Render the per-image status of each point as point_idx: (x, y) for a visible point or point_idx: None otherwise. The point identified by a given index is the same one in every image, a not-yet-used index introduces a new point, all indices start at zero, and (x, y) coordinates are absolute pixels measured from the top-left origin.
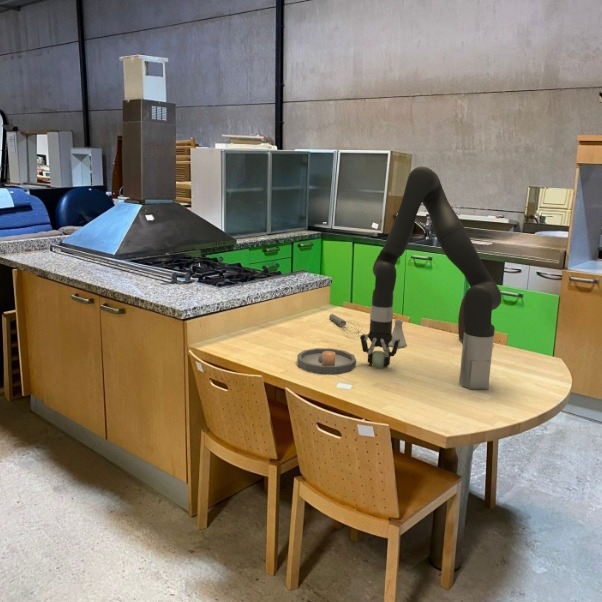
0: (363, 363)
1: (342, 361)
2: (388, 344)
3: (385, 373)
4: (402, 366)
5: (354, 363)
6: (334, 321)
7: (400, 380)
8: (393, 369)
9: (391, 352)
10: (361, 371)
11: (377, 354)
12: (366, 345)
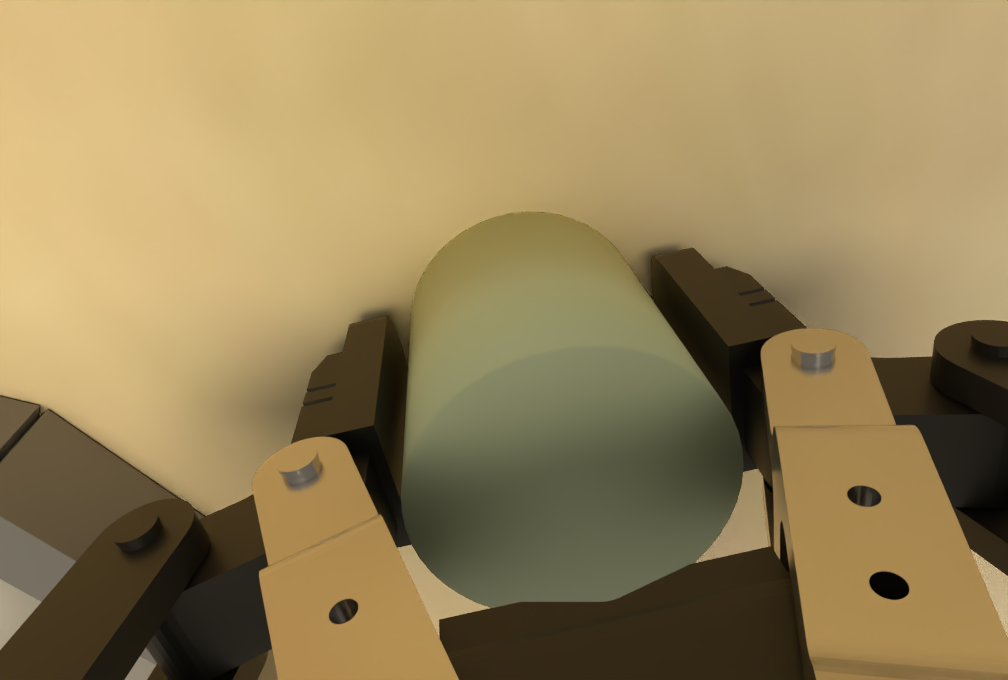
0: (238, 367)
1: (8, 633)
2: (952, 533)
3: (745, 501)
4: (935, 19)
5: (269, 670)
6: None
7: (980, 567)
8: (808, 290)
9: (977, 551)
10: (437, 627)
11: None
12: (122, 653)
